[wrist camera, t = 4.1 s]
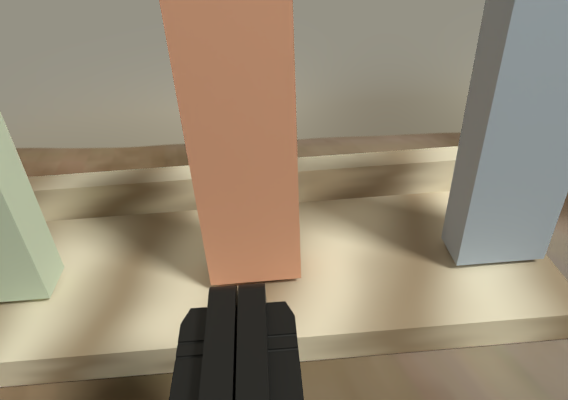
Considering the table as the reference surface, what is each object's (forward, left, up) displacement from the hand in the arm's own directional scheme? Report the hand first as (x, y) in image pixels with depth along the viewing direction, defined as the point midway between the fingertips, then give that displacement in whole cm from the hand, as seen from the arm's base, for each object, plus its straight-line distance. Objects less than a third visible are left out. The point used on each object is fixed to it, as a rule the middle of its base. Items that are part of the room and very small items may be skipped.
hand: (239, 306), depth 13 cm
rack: (0, +9, -7) cm, 11 cm away
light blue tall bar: (+11, +7, -5) cm, 14 cm away
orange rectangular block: (0, +7, -5) cm, 9 cm away
